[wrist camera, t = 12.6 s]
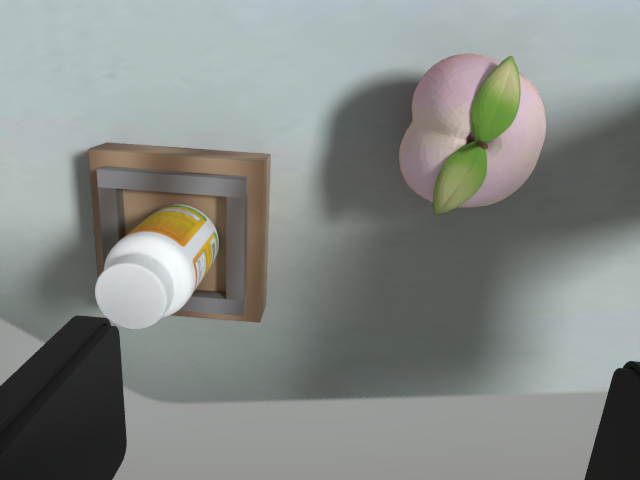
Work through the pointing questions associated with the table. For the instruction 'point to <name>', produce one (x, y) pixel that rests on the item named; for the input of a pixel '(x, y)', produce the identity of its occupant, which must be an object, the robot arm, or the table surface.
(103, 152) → the stand
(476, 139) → the decorative fruit
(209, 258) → the supplement bottle
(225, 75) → the table surface
